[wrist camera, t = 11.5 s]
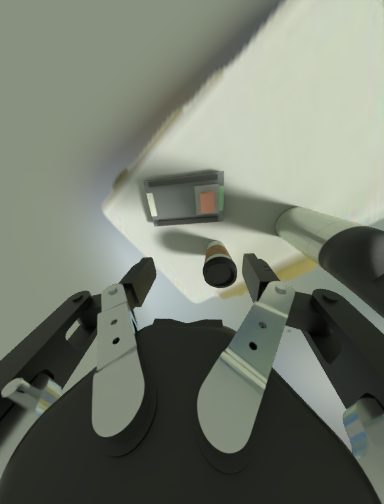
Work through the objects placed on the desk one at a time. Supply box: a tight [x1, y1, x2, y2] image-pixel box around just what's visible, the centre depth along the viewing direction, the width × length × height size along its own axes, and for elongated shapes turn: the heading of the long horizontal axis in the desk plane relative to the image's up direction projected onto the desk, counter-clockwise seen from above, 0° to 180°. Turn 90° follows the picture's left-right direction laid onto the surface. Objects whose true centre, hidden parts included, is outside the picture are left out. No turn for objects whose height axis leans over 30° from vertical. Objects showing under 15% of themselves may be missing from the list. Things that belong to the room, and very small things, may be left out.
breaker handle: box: [194, 184, 219, 215], centre depth 33 cm, size 6×7×6 cm
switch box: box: [144, 171, 224, 226], centre depth 37 cm, size 20×12×4 cm, turn 96°
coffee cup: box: [203, 241, 237, 288], centre depth 39 cm, size 8×8×15 cm
